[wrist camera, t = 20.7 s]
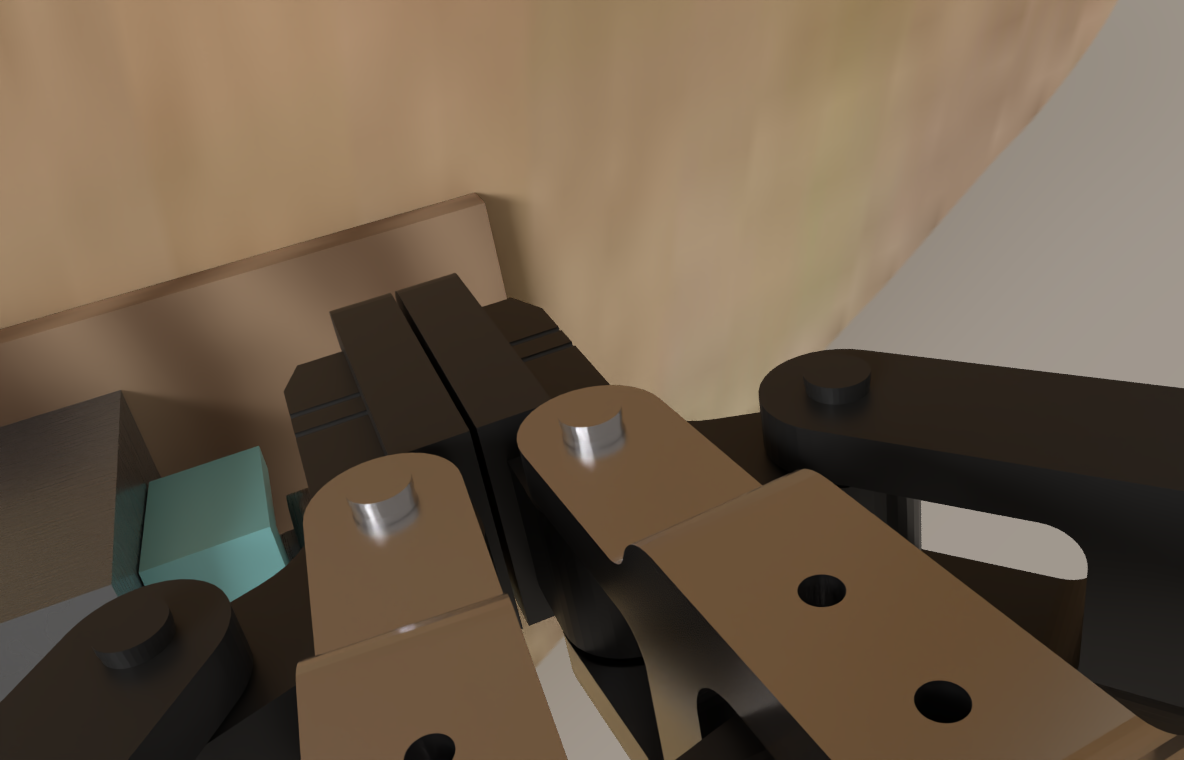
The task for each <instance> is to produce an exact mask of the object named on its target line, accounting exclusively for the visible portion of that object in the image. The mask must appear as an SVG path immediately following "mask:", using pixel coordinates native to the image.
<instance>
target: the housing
mask: <svg viewBox="0 0 1184 760" xmlns="http://www.w3.org/2000/svg"><path fill="white" fill-rule="evenodd" d="M160 478H161V476H160V474H159V472H158V470H157V468H156V466H155V463H154V461H153V459H152V457H151V455H150V452H149V450H148V448H147V446H146V444H145V441H144V439H143V437H142V435H141V433H140V431H139V428H138V426H137V424H136V422H135V420H134V417H133V415H132V413H131V411H130V409H129V406H128V404H127V402H126V400H125V398H124V396H123V393H122V391H121V390H119V391H115V392H112V393H109V394H106V395H102V396H99V397H96V398H93V399H89V400H86V401H83V402H80V403H76V404H73V405H70V406H67V407H64V408H60V409H57V410H54V411H51V412H47V413H44V414H41V415H38V416H34V417H31V418H28V419H25V420H21V421H18V422H15V423H12V424H9V425H5V426H2V427H0V702H1V701H2V700H3V699H4V698H5V697H6V696H7V695H8V694H9V693H10V692H11V691H12V690H13V689H14V688H15V687H16V686H17V684H18V683H19V682H20V681H21V680H22V679H23V678H24V677H25V676H26V675H27V674H28V673H29V672H30V671H31V670H32V669H33V668H34V667H35V666H36V665H37V664H38V663H39V662H40V661H41V660H42V659H43V658H44V657H45V655H46V654H47V653H48V652H49V651H50V650H51V649H52V648H53V647H54V646H55V645H56V644H57V643H58V642H59V641H60V640H61V639H62V638H63V637H64V636H65V635H66V634H67V633H68V632H69V631H70V630H71V629H72V628H73V627H74V626H75V625H76V624H77V623H78V622H80V621H81V620H82V619H84V618H85V617H86V616H88V615H89V614H90V613H91V612H93V611H95V610H96V609H98V608H99V607H101V606H102V605H104V604H106V603H107V602H109V601H111V600H113V599H115V598H117V597H119V596H121V595H123V594H125V593H128V592H130V591H133V590H135V589H138V588H141V587H144V583H143V581H142V579H141V577H140V575H139V565H140V557H141V548H142V539H143V531H144V522H145V513H146V505H147V496H148V487H149V482H151V481H154V480H157V479H160Z"/></svg>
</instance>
